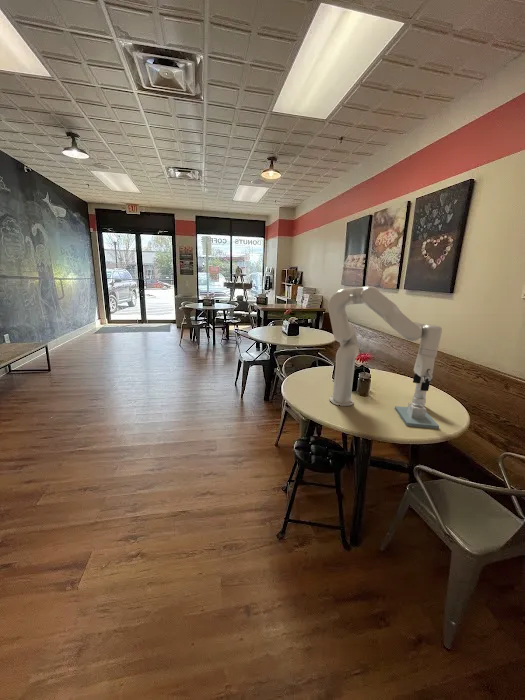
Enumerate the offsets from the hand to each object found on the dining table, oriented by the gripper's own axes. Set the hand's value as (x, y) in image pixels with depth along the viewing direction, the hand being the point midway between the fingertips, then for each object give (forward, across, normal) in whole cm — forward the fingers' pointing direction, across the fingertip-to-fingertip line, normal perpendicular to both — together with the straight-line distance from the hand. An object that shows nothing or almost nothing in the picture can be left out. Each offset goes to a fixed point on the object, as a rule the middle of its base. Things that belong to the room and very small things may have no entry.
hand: (420, 386), depth 138 cm
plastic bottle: (+17, -16, +8) cm, 24 cm away
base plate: (+16, 0, +1) cm, 16 cm away
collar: (+15, 0, +1) cm, 15 cm away
